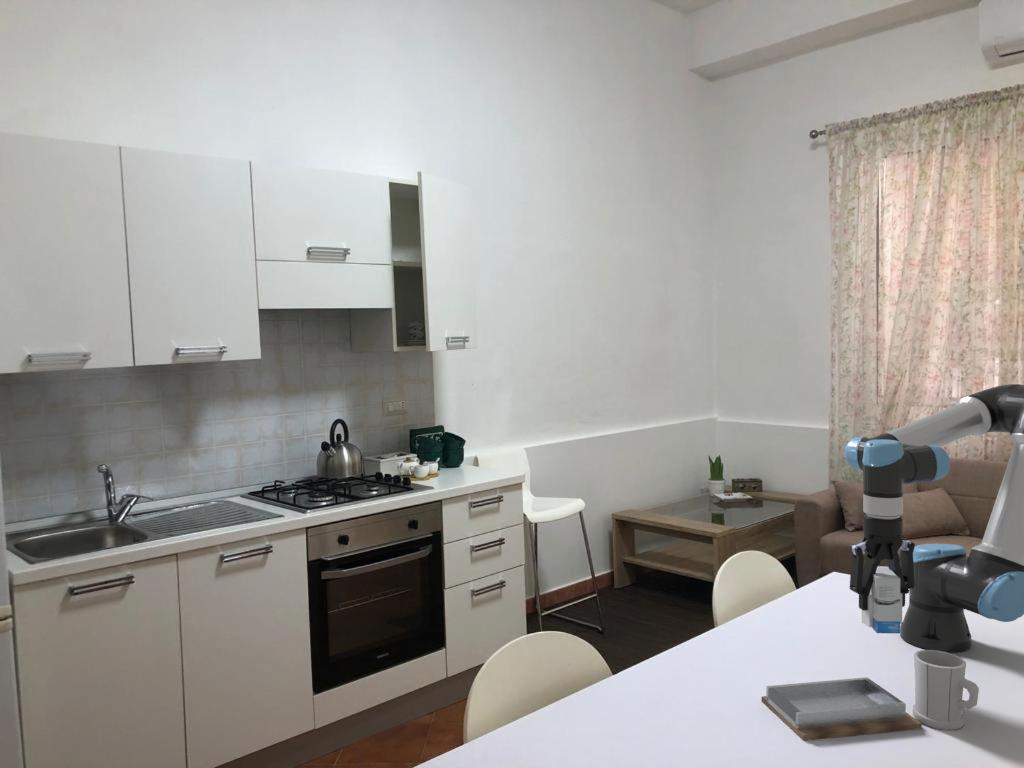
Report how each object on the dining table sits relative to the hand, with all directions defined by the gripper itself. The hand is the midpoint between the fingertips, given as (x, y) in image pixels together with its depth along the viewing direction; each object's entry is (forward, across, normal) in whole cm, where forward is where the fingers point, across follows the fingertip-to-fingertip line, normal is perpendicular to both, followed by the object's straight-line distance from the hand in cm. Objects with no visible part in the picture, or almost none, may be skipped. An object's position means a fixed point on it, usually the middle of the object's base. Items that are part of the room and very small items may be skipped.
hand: (881, 623), depth 172 cm
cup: (+13, -1, +17) cm, 22 cm away
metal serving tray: (+12, +18, +11) cm, 24 cm away
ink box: (+1, 0, 0) cm, 1 cm away
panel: (+12, +17, +11) cm, 24 cm away
